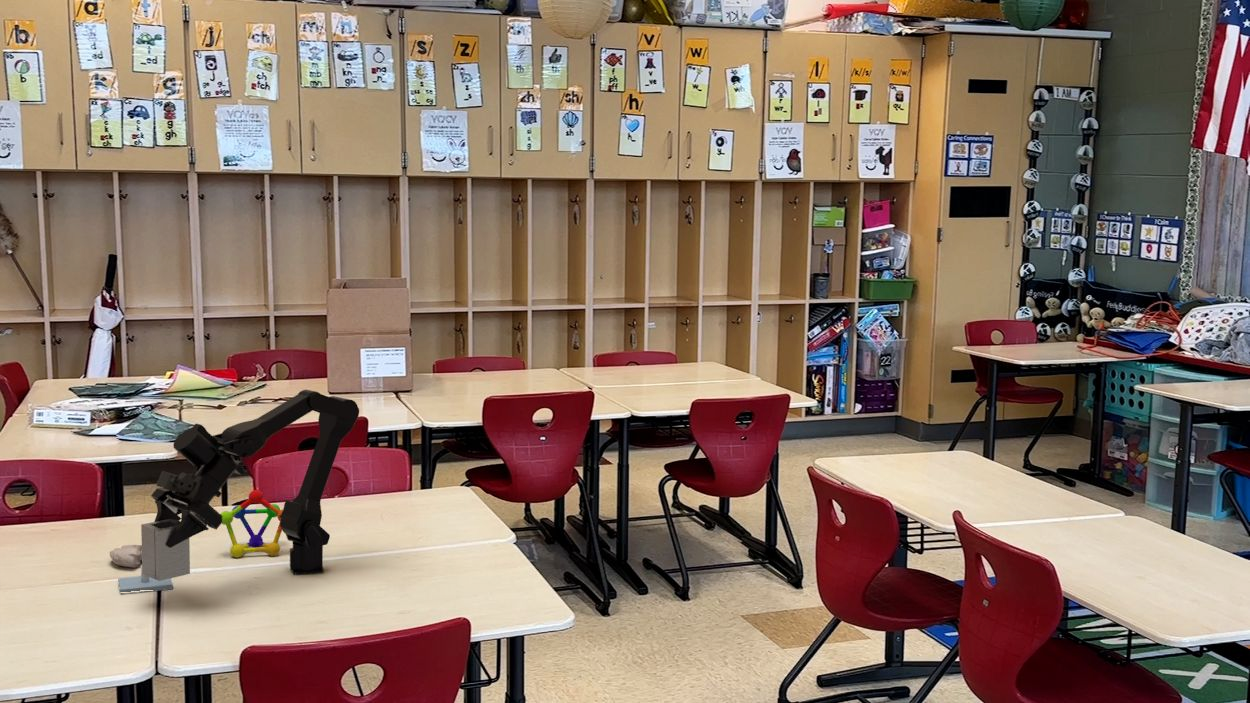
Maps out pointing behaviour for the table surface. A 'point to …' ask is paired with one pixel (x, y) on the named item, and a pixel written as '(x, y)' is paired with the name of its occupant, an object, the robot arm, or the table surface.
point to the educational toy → (255, 540)
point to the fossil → (127, 555)
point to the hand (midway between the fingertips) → (158, 542)
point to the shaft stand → (143, 583)
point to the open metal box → (163, 551)
